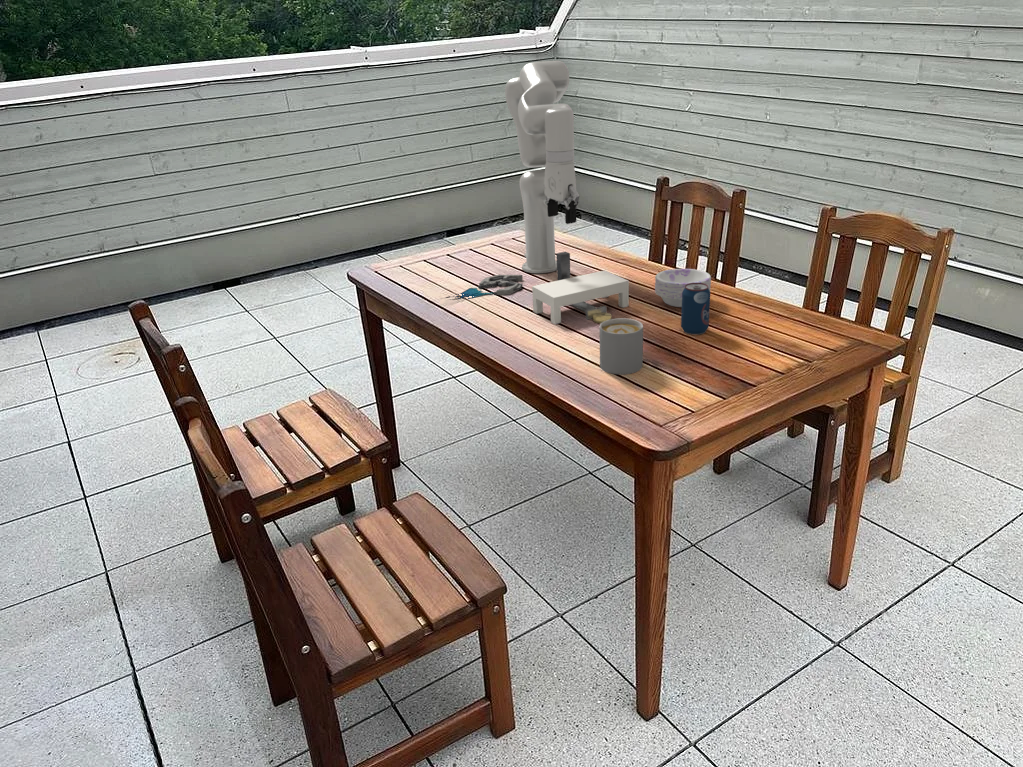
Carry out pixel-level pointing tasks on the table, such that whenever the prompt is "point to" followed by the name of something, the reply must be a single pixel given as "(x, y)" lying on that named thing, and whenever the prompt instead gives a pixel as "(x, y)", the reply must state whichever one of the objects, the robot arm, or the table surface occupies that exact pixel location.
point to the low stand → (578, 292)
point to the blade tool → (564, 273)
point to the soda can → (695, 308)
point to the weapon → (492, 282)
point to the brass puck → (601, 317)
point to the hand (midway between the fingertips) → (561, 219)
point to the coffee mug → (621, 346)
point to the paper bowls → (678, 283)
